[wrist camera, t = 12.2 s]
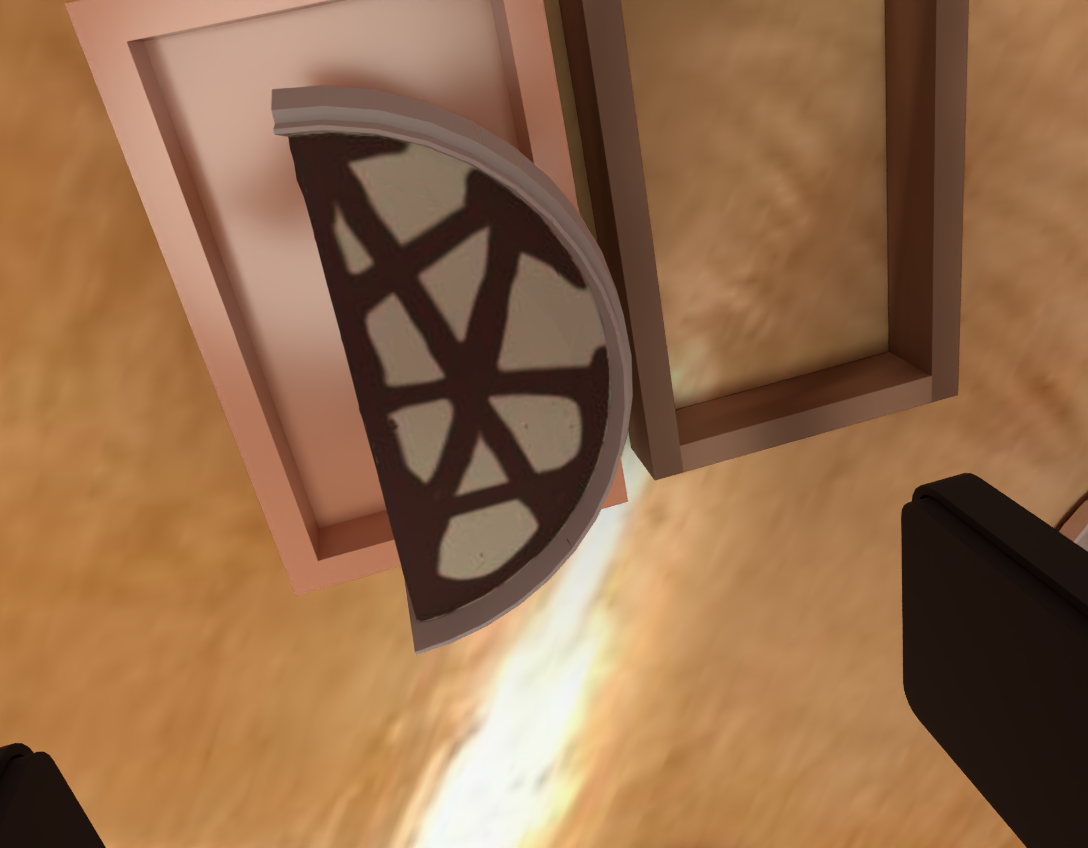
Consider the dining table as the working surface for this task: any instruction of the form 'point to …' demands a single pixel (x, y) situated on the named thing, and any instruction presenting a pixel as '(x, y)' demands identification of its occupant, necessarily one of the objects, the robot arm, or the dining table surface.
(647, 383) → the walnut stand frame
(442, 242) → the food container
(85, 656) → the dining table surface
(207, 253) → the terracotta tray
